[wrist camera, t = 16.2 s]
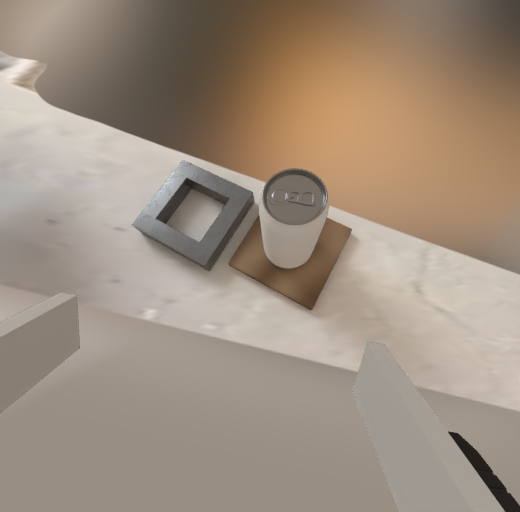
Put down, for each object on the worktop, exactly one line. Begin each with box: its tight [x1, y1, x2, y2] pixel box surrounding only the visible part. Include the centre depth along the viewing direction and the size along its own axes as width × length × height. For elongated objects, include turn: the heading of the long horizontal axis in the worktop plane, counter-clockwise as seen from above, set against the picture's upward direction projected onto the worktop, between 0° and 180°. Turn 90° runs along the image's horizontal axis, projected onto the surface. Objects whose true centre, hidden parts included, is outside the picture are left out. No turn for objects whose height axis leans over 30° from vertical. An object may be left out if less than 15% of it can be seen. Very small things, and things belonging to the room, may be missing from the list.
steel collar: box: [132, 160, 254, 271], centre depth 35 cm, size 12×12×2 cm
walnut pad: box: [229, 216, 352, 310], centre depth 33 cm, size 12×12×1 cm
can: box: [259, 169, 329, 268], centre depth 27 cm, size 6×6×12 cm
